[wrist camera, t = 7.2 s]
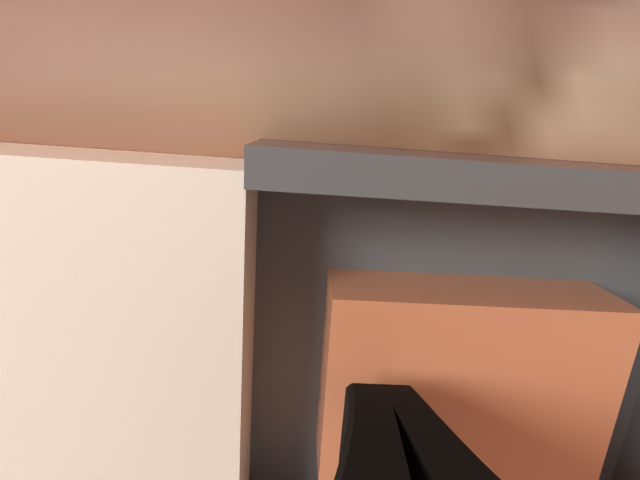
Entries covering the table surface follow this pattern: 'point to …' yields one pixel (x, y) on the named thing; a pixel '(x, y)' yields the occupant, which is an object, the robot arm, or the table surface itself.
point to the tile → (484, 363)
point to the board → (125, 315)
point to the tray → (418, 258)
